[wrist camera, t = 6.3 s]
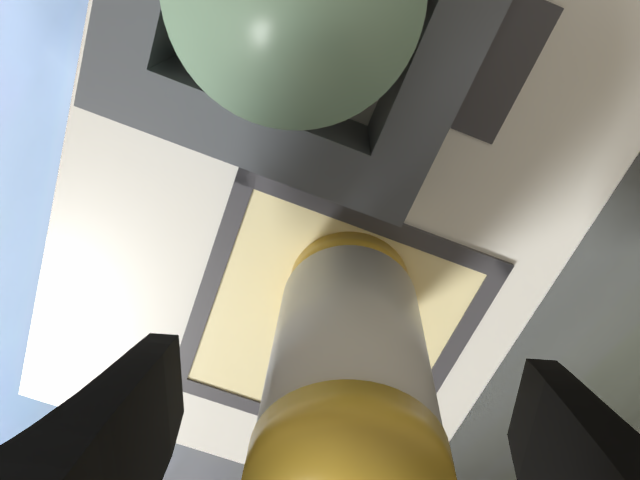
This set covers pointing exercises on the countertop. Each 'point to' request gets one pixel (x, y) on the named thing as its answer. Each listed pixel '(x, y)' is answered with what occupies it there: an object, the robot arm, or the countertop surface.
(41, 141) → the countertop surface
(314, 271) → the two-tone rounded cylinder
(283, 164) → the button housing
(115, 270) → the board
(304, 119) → the button
